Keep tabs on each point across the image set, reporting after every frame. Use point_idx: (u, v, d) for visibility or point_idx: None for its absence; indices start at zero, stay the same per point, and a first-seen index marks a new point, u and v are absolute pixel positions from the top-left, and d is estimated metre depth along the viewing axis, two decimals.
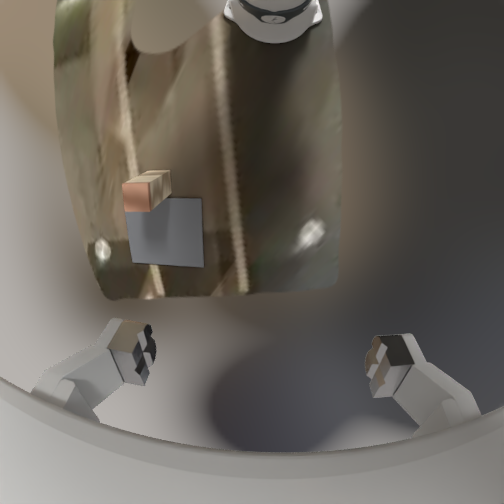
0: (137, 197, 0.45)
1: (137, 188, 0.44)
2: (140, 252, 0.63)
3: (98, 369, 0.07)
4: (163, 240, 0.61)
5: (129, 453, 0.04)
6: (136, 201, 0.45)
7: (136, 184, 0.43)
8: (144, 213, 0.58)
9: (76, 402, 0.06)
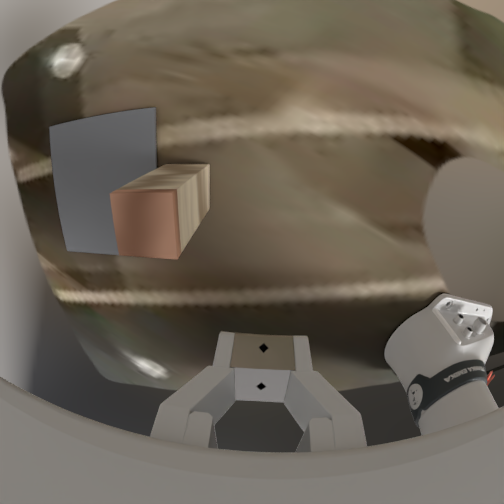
0: (144, 231, 0.19)
1: (164, 233, 0.19)
2: (64, 143, 0.27)
3: (221, 392, 0.07)
4: (88, 188, 0.30)
5: (129, 452, 0.04)
6: (134, 227, 0.19)
7: (174, 232, 0.19)
8: (128, 152, 0.28)
9: (212, 435, 0.06)
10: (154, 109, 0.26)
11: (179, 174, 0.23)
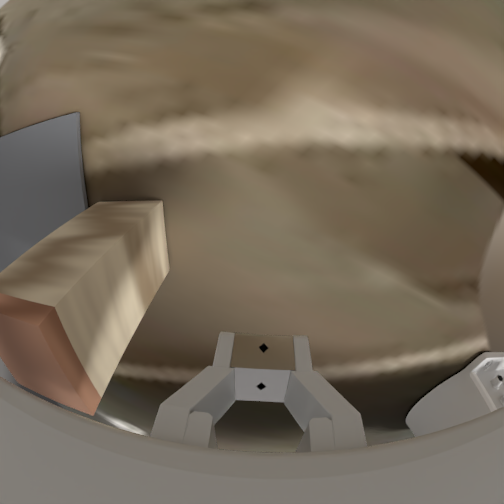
0: (29, 368, 0.08)
1: (57, 382, 0.08)
2: None
3: (221, 391, 0.07)
4: (14, 234, 0.18)
5: (129, 453, 0.04)
6: (16, 359, 0.08)
7: (70, 385, 0.08)
8: (49, 184, 0.16)
9: (212, 435, 0.06)
10: (76, 115, 0.14)
11: (94, 238, 0.12)
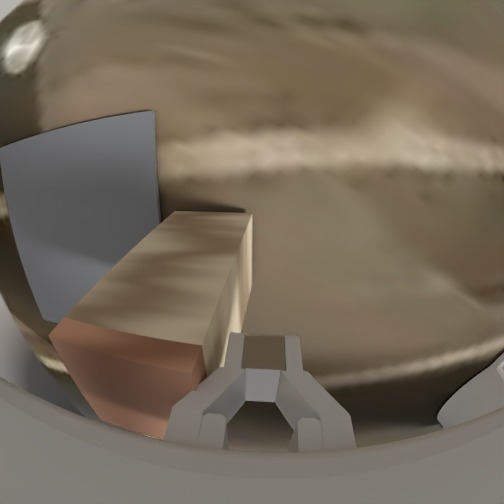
0: (137, 410, 0.08)
1: None
2: (18, 173, 0.16)
3: (233, 392, 0.07)
4: (57, 243, 0.19)
5: (129, 453, 0.04)
6: (116, 400, 0.08)
7: None
8: (110, 189, 0.16)
9: (225, 436, 0.06)
10: (152, 114, 0.14)
11: (201, 255, 0.12)
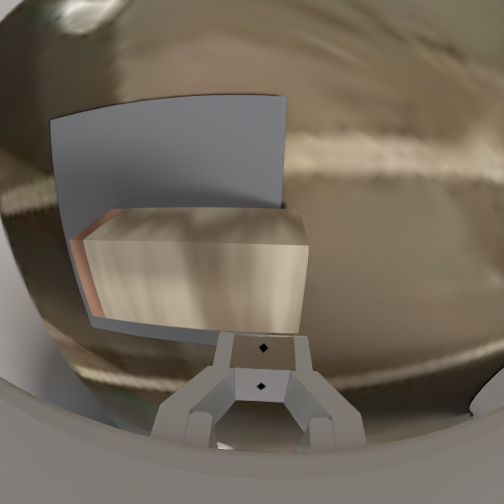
0: None
1: None
2: (79, 152, 0.15)
3: (221, 392, 0.07)
4: None
5: (129, 453, 0.04)
6: None
7: (82, 285, 0.14)
8: (223, 178, 0.16)
9: (212, 435, 0.06)
10: (285, 100, 0.14)
11: (183, 229, 0.13)
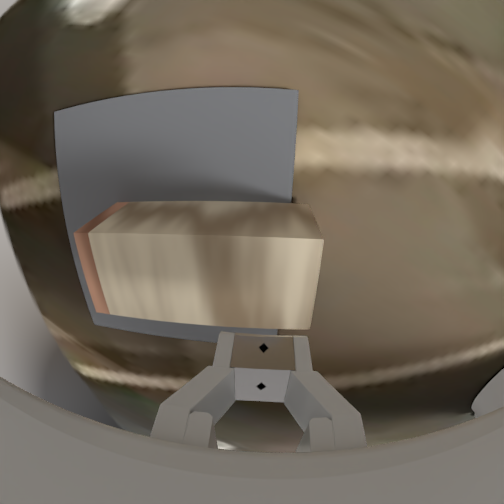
0: None
1: None
2: (84, 144, 0.15)
3: (221, 391, 0.07)
4: None
5: (129, 452, 0.04)
6: None
7: (86, 280, 0.13)
8: (233, 171, 0.15)
9: (212, 435, 0.06)
10: (297, 94, 0.13)
11: (193, 222, 0.13)
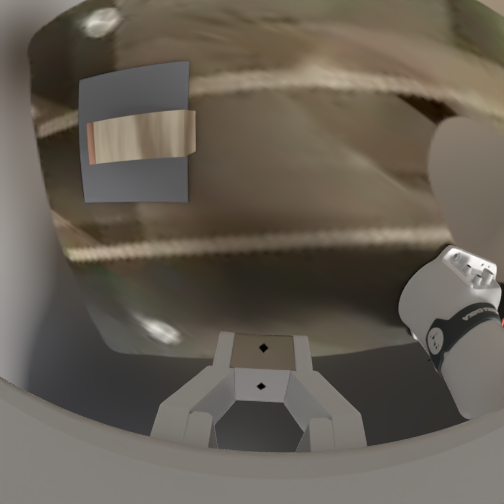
0: None
1: None
2: (94, 94, 0.28)
3: (221, 391, 0.07)
4: None
5: (129, 452, 0.04)
6: None
7: (88, 147, 0.27)
8: (160, 99, 0.29)
9: (212, 435, 0.06)
10: (188, 62, 0.27)
11: None
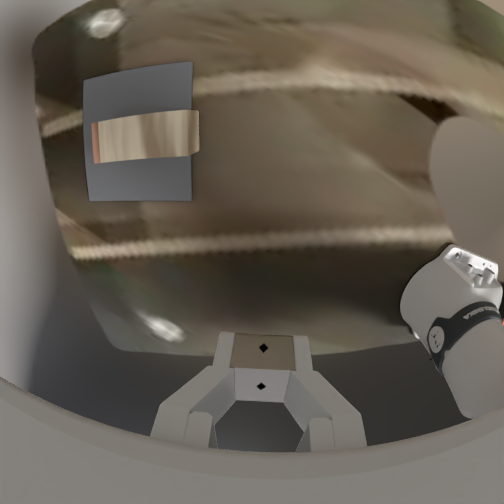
0: None
1: None
2: (98, 94, 0.29)
3: (221, 392, 0.07)
4: None
5: (129, 452, 0.04)
6: None
7: (93, 146, 0.27)
8: (164, 99, 0.29)
9: (212, 435, 0.06)
10: (191, 63, 0.27)
11: None
